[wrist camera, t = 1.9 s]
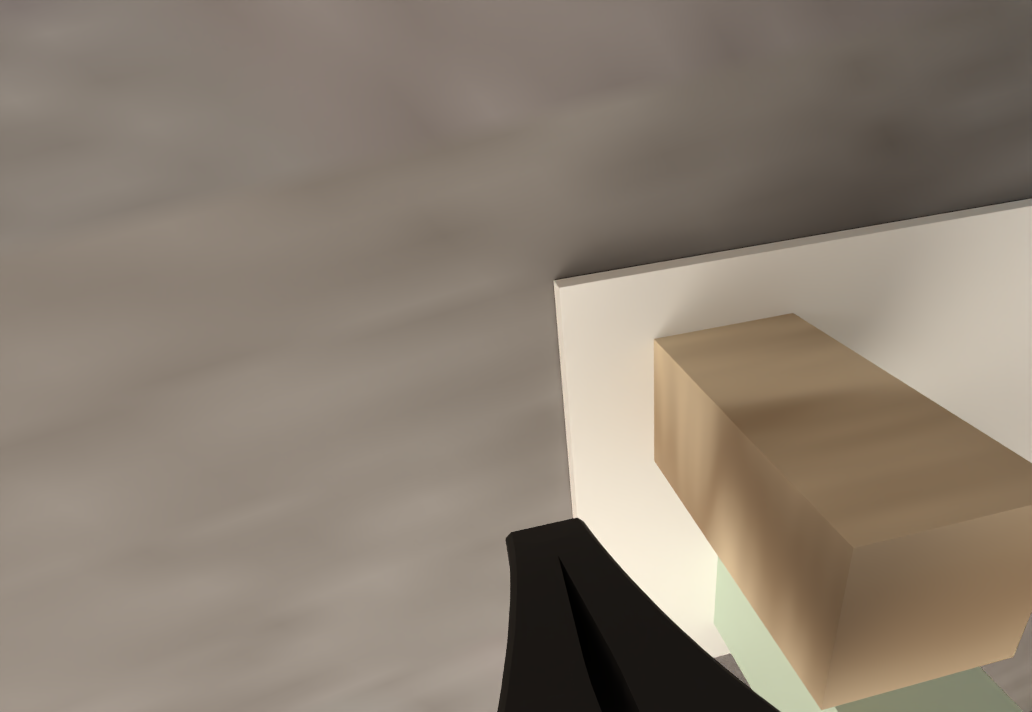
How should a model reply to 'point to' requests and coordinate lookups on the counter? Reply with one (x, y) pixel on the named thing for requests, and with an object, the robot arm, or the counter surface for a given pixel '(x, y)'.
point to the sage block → (917, 708)
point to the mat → (824, 304)
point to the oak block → (845, 506)
